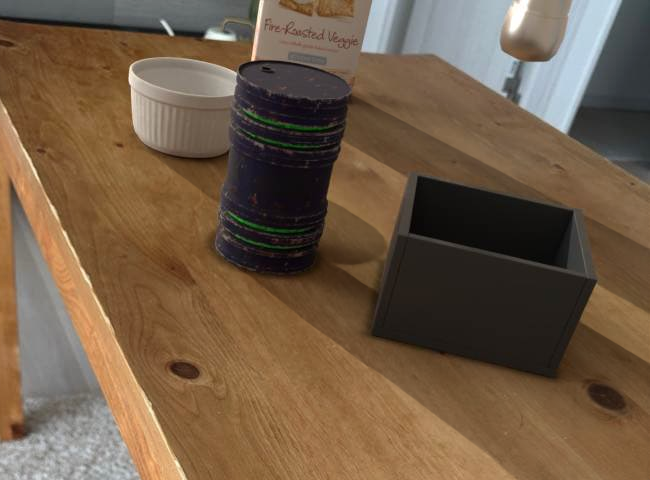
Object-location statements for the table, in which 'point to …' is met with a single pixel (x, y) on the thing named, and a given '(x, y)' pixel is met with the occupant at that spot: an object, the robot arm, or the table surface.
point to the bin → (485, 275)
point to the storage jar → (280, 164)
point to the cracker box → (313, 33)
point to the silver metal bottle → (534, 29)
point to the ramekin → (182, 105)
